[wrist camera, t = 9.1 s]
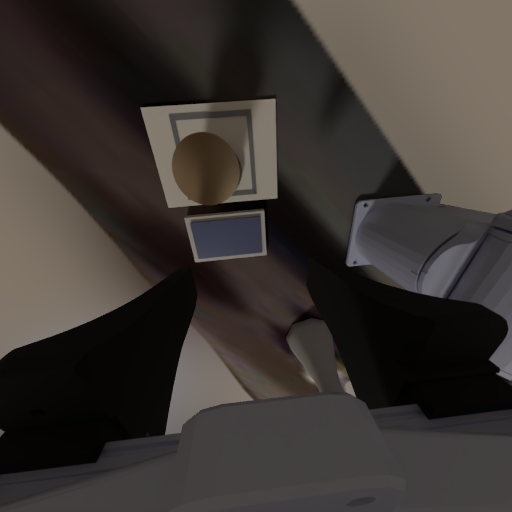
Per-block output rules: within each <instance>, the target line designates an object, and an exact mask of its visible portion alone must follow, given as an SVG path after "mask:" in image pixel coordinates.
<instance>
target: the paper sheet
mask: <svg viewBox="0 0 512 512" xmlns="http://www.w3.org/2000/svg"><path fill="white" fill-rule="evenodd" d="M141 111H142V115H143V119H144V122H145V126H146V129H147V133H148V136H149V140H150V143H151V147H152V151H153V154H154V158H155V161H156V165H157V168H158V172H159V175H160V179H161V183H162V186H163V190H164V193H165V197H166V200H167V204H168V208H173V207H184V206H195V205H203V204H199V203H196V202H194V201H192V200H191V199H189V198H188V197H187V196H186V195H185V194H184V193H183V192H182V191H181V190H180V189H179V187H178V185H177V184H176V181H175V179H174V176H173V172H172V157H173V154H174V151H175V149H176V147H177V145H178V144H179V142H180V141H181V140H182V139H184V138H185V137H186V136H188V135H190V134H193V133H197V132H207V133H211V134H214V135H217V136H219V137H220V138H222V139H223V140H224V141H226V142H227V143H228V144H229V145H230V147H231V148H232V149H233V151H234V152H235V154H236V155H237V157H238V158H239V161H240V164H241V168H242V177H241V181H240V183H239V186H238V187H237V189H236V190H235V191H234V193H233V194H232V195H231V197H229V198H228V199H227V200H226V201H224V202H222V203H229V202H240V201H251V200H262V199H273V198H277V151H276V100H275V99H264V100H249V101H234V102H219V103H203V104H188V105H173V106H158V107H143V108H141Z"/></svg>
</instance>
